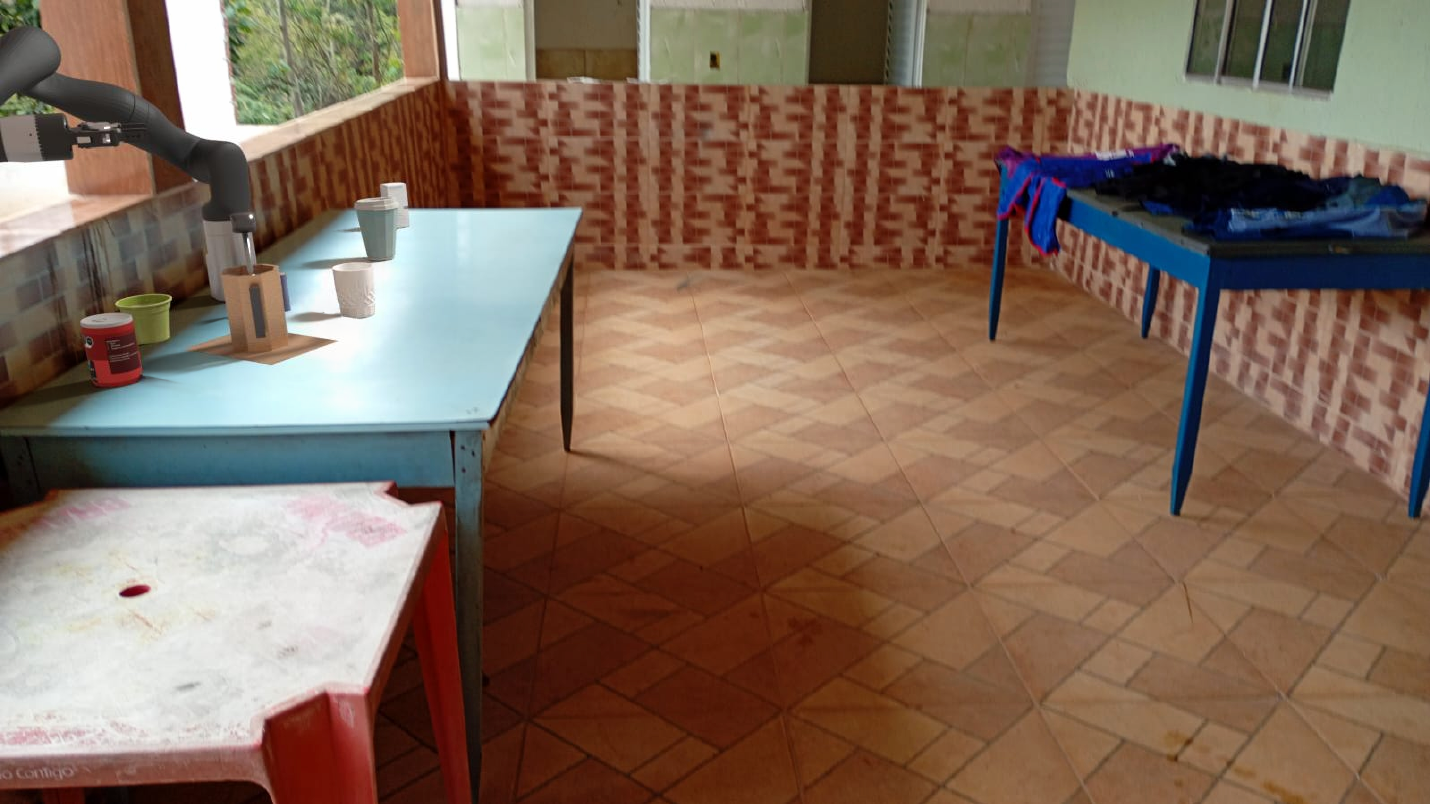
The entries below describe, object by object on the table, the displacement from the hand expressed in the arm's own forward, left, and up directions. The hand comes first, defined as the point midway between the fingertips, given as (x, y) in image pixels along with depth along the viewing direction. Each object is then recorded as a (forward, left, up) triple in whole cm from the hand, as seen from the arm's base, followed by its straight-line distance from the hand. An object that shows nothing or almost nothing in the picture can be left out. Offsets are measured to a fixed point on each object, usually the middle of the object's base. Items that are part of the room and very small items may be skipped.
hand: (147, 132), depth 191 cm
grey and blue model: (-9, +28, -40) cm, 50 cm away
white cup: (+7, +36, -40) cm, 55 cm away
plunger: (+9, +9, -38) cm, 40 cm away
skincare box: (-49, +112, -40) cm, 129 cm away
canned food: (0, -14, -40) cm, 42 cm away
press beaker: (+9, +9, -39) cm, 41 cm away
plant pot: (-13, +3, -40) cm, 42 cm away
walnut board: (+9, +9, -40) cm, 42 cm away
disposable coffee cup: (-25, +79, -40) cm, 93 cm away
